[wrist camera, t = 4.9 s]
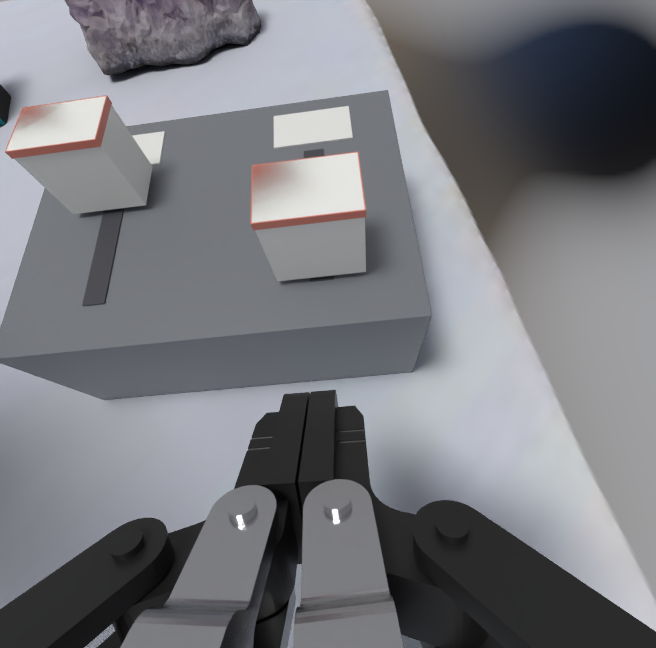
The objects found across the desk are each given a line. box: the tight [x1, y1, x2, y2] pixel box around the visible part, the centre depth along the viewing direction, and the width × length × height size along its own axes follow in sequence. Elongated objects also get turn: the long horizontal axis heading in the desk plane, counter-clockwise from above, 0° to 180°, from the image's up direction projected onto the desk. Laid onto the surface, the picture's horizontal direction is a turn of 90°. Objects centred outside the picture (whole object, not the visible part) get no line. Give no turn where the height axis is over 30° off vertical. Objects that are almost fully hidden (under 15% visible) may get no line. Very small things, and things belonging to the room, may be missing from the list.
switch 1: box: [5, 96, 153, 214], centre depth 21 cm, size 3×4×4 cm
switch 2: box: [250, 152, 366, 281], centre depth 17 cm, size 3×4×4 cm
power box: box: [0, 90, 432, 400], centre depth 26 cm, size 16×22×9 cm
